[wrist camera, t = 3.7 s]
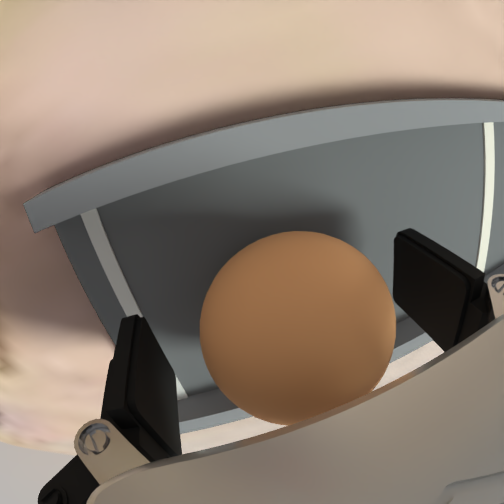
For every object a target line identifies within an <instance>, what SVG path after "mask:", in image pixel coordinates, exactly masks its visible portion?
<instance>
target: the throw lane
mask: <svg viewBox="0 0 504 504" xmlns="http://www.w3.org/2000/svg"><path fill="white" fill-rule="evenodd" d="M23 205H24V208H25V210H26V213H27V216H28V218H29V221H30V223H31V226H32V228H33V231H34V233H36V232H39V231H41V230H43V229H46V228H48V227H50V226H53V225H54V226H55V228H56V230H57V233H58V235H59V238H60V240H61V242H62V244H63V247H64V249H65V251H66V253H67V256H68V258H69V260H70V262H71V264H72V266H73V269H74V271H75V273H76V275H77V277H78V279H79V281H80V283H81V285H82V287H83V289H84V291H85V293H86V294H87V296H88V298H89V300H90V302H91V304H92V306H93V308H94V309H95V311H96V313H97V315H98V317H99V318H100V320H101V322H102V324H103V325H104V327H105V329H106V330H107V332H108V334H109V335H110V337H111V339H112V340H113V342H114V344H115V345H116V342H117V337H118V332H119V327H120V323H121V319H122V318H124V317H128V316H131V315H135V314H138V315H139V316H140V317H145V318H146V320H147V322H148V324H149V326H150V328H151V330H152V332H153V334H154V335H155V337H156V339H157V341H158V343H159V345H160V347H161V348H162V350H163V352H164V354H165V356H166V358H167V359H168V361H169V363H170V365H171V366H172V368H173V370H174V372H175V376H176V387H177V402H178V416H179V428H180V434H182V433H187V432H192V431H197V430H201V429H206V428H210V427H214V426H218V425H222V424H226V423H230V422H234V421H238V420H241V419H245V418H249V417H252V415H250V414H248V413H247V412H245V411H243V410H242V409H240V408H239V407H238V406H236V405H235V404H234V403H233V402H232V401H230V400H229V399H228V398H227V397H226V396H225V395H224V394H223V392H222V391H221V390H220V389H219V387H218V386H217V385H216V383H215V382H214V380H213V378H212V377H211V375H210V373H209V371H208V369H207V366H206V364H205V361H204V358H203V354H202V350H201V344H200V317H201V311H202V306H203V302H204V300H205V297H206V294H207V292H208V290H209V288H210V286H211V284H212V282H213V280H214V278H215V277H216V275H217V274H218V272H219V271H220V270H221V268H222V267H223V266H224V265H225V264H226V263H227V262H228V261H229V260H230V259H231V258H232V257H233V256H234V255H235V254H237V253H238V252H239V251H240V250H242V249H243V248H245V247H246V246H248V245H250V244H252V243H254V242H256V241H257V240H259V239H262V238H265V237H267V236H270V235H273V234H278V233H282V232H290V231H308V232H316V233H322V234H326V235H329V236H331V237H334V238H337V239H340V240H342V241H344V242H346V243H348V244H349V245H351V246H353V247H354V248H356V249H357V250H358V251H360V252H361V253H362V254H363V255H365V256H366V257H367V258H368V259H369V260H370V261H371V263H372V264H373V265H374V266H375V267H376V268H377V270H378V271H379V273H380V274H381V276H382V277H383V279H384V281H385V283H386V284H387V287H388V289H389V292H390V294H391V297H392V300H393V304H394V309H395V315H396V339H395V344H394V349H393V354H392V357H391V360H390V362H389V363H391V362H393V361H395V360H397V359H399V358H401V357H403V356H405V355H407V354H409V353H411V352H412V351H414V350H416V349H418V348H420V347H422V346H424V345H425V344H427V343H429V342H431V341H432V340H433V339H432V338H431V337H430V336H429V335H428V334H427V333H426V332H425V331H424V330H423V329H422V328H421V327H420V326H419V325H418V324H417V323H416V322H415V321H414V320H413V319H412V318H410V317H409V316H408V315H407V314H406V313H405V312H404V311H403V310H402V309H401V308H400V307H399V306H398V305H397V304H396V303H395V301H394V299H393V264H394V238H395V237H396V234H397V233H398V232H399V231H402V230H405V229H408V228H412V229H414V230H416V231H418V232H419V233H421V234H423V235H425V236H426V237H428V238H430V239H431V240H433V241H435V242H436V243H438V244H440V245H441V246H443V247H445V248H446V249H448V250H450V251H451V252H453V253H454V254H456V255H458V256H459V257H461V258H462V259H464V260H465V261H467V262H469V263H470V264H472V265H473V266H475V267H476V268H478V269H479V270H481V271H482V272H484V273H485V277H484V282H485V283H487V281H488V279H489V278H490V277H491V276H493V275H496V274H504V100H496V99H476V98H421V99H400V100H385V101H373V102H363V103H354V104H345V105H337V106H330V107H323V108H316V109H310V110H303V111H297V112H292V113H286V114H281V115H276V116H271V117H266V118H261V119H256V120H252V121H247V122H243V123H238V124H234V125H230V126H226V127H222V128H218V129H214V130H210V131H206V132H203V133H199V134H196V135H192V136H188V137H185V138H182V139H178V140H175V141H172V142H168V143H165V144H162V145H159V146H156V147H153V148H150V149H147V150H144V151H141V152H138V153H135V154H132V155H129V156H127V157H124V158H121V159H118V160H116V161H113V162H110V163H108V164H105V165H102V166H100V167H97V168H95V169H92V170H90V171H87V172H85V173H83V174H80V175H78V176H75V177H73V178H71V179H69V180H66V181H64V182H62V183H59V184H57V185H55V186H53V187H51V188H49V189H46V190H45V191H43V192H41V193H40V194H38V195H36V196H35V197H33V198H32V199H30V200H28V201H27V202H25V203H24V204H23Z"/></svg>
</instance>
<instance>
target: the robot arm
mask: <svg viewBox="0 0 504 504" xmlns="http://www.w3.org/2000/svg"><path fill="white" fill-rule="evenodd" d="M484 277H485V273H484V272H482V271H481V270H479V269H478V268H476V267H475V266H473V265H472V264H470V263H469V262H467V261H465V260H464V259H462V258H461V257H459V256H458V255H456V254H454V253H453V252H451V251H450V250H448V249H446V248H445V247H443V246H441V245H440V244H438V243H436V242H435V241H433V240H431V239H430V238H428V237H426V236H425V235H423V234H421V233H419V232H418V231H416V230H414V229H412V228H408V229H405V230H402V231H399V232H398V233H397V234H396V237H395V238H394V264H393V299H394V301H395V303H396V304H397V305H398V306H399V307H400V308H401V309H402V310H403V311H404V312H405V313H406V314H407V315H408V316H409V317H410V318H412V319H413V320H414V321H415V322H416V323H417V324H418V325H419V326H420V327H421V328H422V329H423V330H424V331H425V332H426V333H427V334H428V335H429V336H430V337H431V338H432V339H433V340H434V341H435V342H436V343H437V344H438V345H439V346H440V347H441V348H442V350H443V351H444V353H443V354H441V355H439V356H438V357H436V358H434V359H433V360H431V361H429V362H428V363H426V364H424V365H422V366H421V367H419V368H417V369H415V370H413V371H412V372H410V373H408V374H406V375H404V376H402V377H400V378H398V379H397V380H395V381H393V382H391V383H389V384H387V385H385V386H383V387H381V388H379V389H377V390H374V391H372V392H370V393H368V394H366V395H364V396H362V397H359V398H357V399H355V400H353V401H351V402H348V403H346V404H344V405H341V406H339V407H336V408H334V409H332V410H329V411H327V412H324V413H322V414H319V415H316V416H314V417H311V418H309V419H306V420H303V421H300V422H298V423H295V424H292V425H289V426H286V427H283V428H280V429H277V430H274V431H271V432H268V433H264V434H261V435H258V436H254V437H251V438H247V439H244V440H240V441H237V442H233V443H229V444H225V445H222V446H218V447H214V448H210V449H205V450H201V451H197V452H192V453H187V454H183V455H182V449H181V439H180V428H179V416H178V402H177V387H176V376H175V372H174V370H173V368H172V366H171V365H170V363H169V361H168V359H167V358H166V356H165V354H164V352H163V350H162V348H161V347H160V345H159V343H158V341H157V339H156V337H155V335H154V334H153V332H152V330H151V328H150V326H149V324H148V322H147V320H146V318H145V317H140V316H139V315H138V314H135V315H131V316H128V317H124V318H122V319H121V323H120V327H119V332H118V337H117V342H116V347H115V352H114V357H113V359H112V360H111V361H110V364H109V369H108V374H107V380H106V386H105V392H104V398H103V405H102V412H101V419H94V420H91V421H89V422H87V423H86V424H84V425H83V426H82V427H81V428H80V429H79V430H78V432H77V434H76V436H75V440H74V448H75V450H76V453H77V455H76V456H75V457H74V458H73V459H72V460H71V461H70V462H69V463H68V464H67V465H66V466H65V467H64V468H63V469H62V470H60V471H59V473H57V474H56V475H55V476H54V477H53V478H52V479H51V480H50V481H49V482H48V483H47V484H46V485H45V486H44V487H43V488H42V489H41V491H40V493H39V496H38V504H504V274H496V275H493V276H491V277H490V278H489V279H488V281H487V283H485V282H484Z"/></svg>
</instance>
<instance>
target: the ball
mask: <svg viewBox="0 0 504 504" xmlns="http://www.w3.org/2000/svg"><path fill="white" fill-rule="evenodd" d="M395 339H396V315H395V309H394V304H393V300H392V297H391V294H390V292H389V289H388V287H387V284H386V283H385V281H384V279H383V277H382V276H381V274H380V273H379V271H378V270H377V268H376V267H375V266H374V265H373V264H372V263H371V261H370V260H369V259H368V258H367V257H366V256H365V255H363V254H362V253H361V252H360V251H358V250H357V249H356V248H354V247H353V246H351V245H349V244H348V243H346V242H344V241H342V240H340V239H337V238H334V237H331V236H329V235H326V234H322V233H316V232H308V231H290V232H282V233H278V234H273V235H270V236H267V237H265V238H262V239H259V240H257V241H256V242H254V243H252V244H250V245H248V246H246V247H245V248H243V249H242V250H240V251H239V252H238V253H237V254H235V255H234V256H233V257H232V258H231V259H230V260H229V261H228V262H227V263H226V264H225V265H224V266H223V267H222V268H221V270H220V271H219V272H218V274H217V275H216V277H215V278H214V280H213V282H212V284H211V286H210V288H209V290H208V292H207V294H206V297H205V300H204V302H203V306H202V311H201V317H200V344H201V350H202V354H203V358H204V361H205V364H206V366H207V369H208V371H209V373H210V375H211V377H212V378H213V380H214V382H215V383H216V385H217V386H218V387H219V389H220V390H221V391H222V392H223V394H224V395H225V396H226V397H227V398H228V399H229V400H230V401H232V402H233V403H234V404H235V405H236V406H238V407H239V408H240V409H242V410H243V411H245V412H247V413H248V414H250V415H252V416H254V417H256V418H259V419H262V420H264V421H267V422H270V423H275V424H280V425H288V426H289V425H292V424H295V423H298V422H300V421H303V420H306V419H309V418H311V417H314V416H316V415H319V414H322V413H324V412H327V411H329V410H332V409H334V408H336V407H339V406H341V405H344V404H346V403H348V402H351V401H353V400H355V399H357V398H359V397H362V396H364V395H366V394H368V393H370V392H372V390H373V389H374V388H375V387H376V385H377V384H378V383H379V381H380V380H381V378H382V377H383V375H384V373H385V371H386V369H387V367H388V364H389V362H390V360H391V357H392V354H393V349H394V344H395Z"/></svg>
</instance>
